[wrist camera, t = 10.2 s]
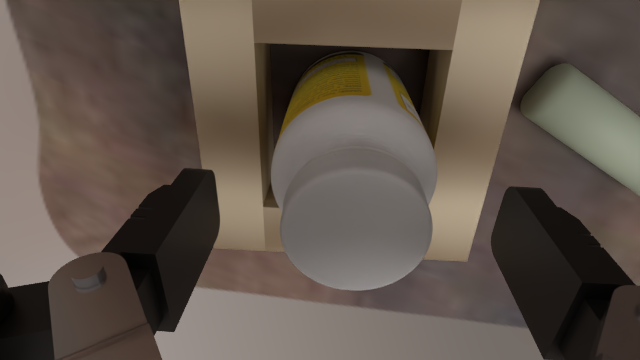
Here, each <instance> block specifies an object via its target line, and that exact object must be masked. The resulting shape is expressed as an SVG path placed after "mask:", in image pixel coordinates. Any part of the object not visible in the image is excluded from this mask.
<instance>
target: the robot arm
mask: <svg viewBox="0 0 640 360" xmlns="http://www.w3.org/2000/svg"><path fill="white" fill-rule="evenodd" d="M219 228H220V212H219V204H218V196H217V188H216V180H215V175H214V172H213V171H212V170H208V169H190V168H184V169H183V170H182V171H181V172H180V174H179V175H178V176H177V178H176V179H175V180H174V182H173V183H172V184H171V185H163V186H161V187H160V188H158V189H156V190H155V191H153V192H151V193H150V194H148V195H147V197H146V198H145V199H144V200H143V201H142V203H141V204H140V205H139V208H138V209H136V210H135V211H134V212H133V214H132V215H131V218H130V219H128V220H127V221H126V222H125V223H124V225H123V226H122V227H121V228H120V229H119V231H118V232H117V233H116V234H115V236H114V237H113V238H112V239H111V240H110V242H109V243H108V244H107V245H106V246H105V248H104V249H103V250H102V251H101V252H99V253H92V254H88V255H84V256H82V257H79V258H77V259H74V260H72V261H70V262H69V263H67V264H65V265H64V266H63V267H61V268H60V269H59V270H58V271H57V272H56V273H55V274H54V275H53V276H52V278H51V279H50V281H47V282H42V283H35V284H29V285H23V286H18V287H11V288H8V286H7V284H6V282H5V280H4V279H3V276H2V275H1V274H0V360H162V358H161V355H160V352H159V349H158V346H157V344H156V341H155V338H154V335H155V333H156V331H167V332H174V331H175V329H176V327H177V324H178V323H179V320H180V318H181V316H182V314H183V312H184V309H185V307H186V305H187V303H188V301H189V298H190V296H191V294H192V292H193V289H194V287H195V285H196V283H197V281H198V279H199V276H200V274H201V272H202V270H203V268H204V266H205V263H206V261H207V259H208V257H209V255H210V252H211V250H212V248H213V246H214V244H215V241H216V239H217V237H218V233H219ZM590 234H591V233H590V232H589V231H588V230H587V228H586V227H585V226H584V225H583V224H582V223H581V221H580V220H579V219H577V218H576V217H574V216H573V215H571V214H570V213H568V212H567V211H565V210H564V209H562V208H561V207H557V206H556V205H555V204H554V203H553V201H552V200H551V199H550V198H549V197H548V195H547V194H546V193H545V192H544V191H543V190H542V189H541V188H530V187H509V188H508V189H507V190H506V192H505V194H504V197H503V200H502V203H501V206H500V210H499V213H498V216H497V219H496V222H495V226H494V229H493V232H492V237H491V247H492V252H493V255H494V257H495V260H496V262H497V264H498V266H499V268H500V270H501V272H502V274H503V276H504V278H505V280H506V282H507V284H508V286H509V289H510V291H511V293H512V295H513V297H514V299H515V301H516V303H517V305H518V307H519V309H520V311H521V313H522V315H523V318H524V320H525V322H526V324H527V326H528V328H529V330H530V332H531V334H532V336H533V338H534V340H535V342H536V344H537V346H538V349H539V351H540V353H541V355H542V357H543V359H546V360H640V286H637V285H635V284H634V283H633V281H632V280H631V279H630V278H629V277H628V276H627V275H626V273H625V272H624V271H623V270H622V269H621V268H620V266H619V265H618V264H617V263H616V262H615V261H614V260H613V258H612V257H611V256H610V255H609V254H608V253H607V251H606V250H605V249H604V248H601V247H600V243H599V242H598V241H597V240H596V239H595V238H594V236H591V235H590Z"/></svg>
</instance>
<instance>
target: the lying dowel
mask: <svg viewBox="0 0 640 360" xmlns="http://www.w3.org/2000/svg"><path fill="white" fill-rule="evenodd" d="M520 111H521V113H522V114H523V115H524V116H525V117H526V118H528V119H529V120H531V121H532V122H534V123H535V124H537V125H538V126H539V127H541V128H542V129H544V130H545V131H547V132H548V133H549V134H551V135H552V136H554V137H555V138H557V139H558V140H560V141H561V142H562V143H564V144H565V145H567V146H568V147H570V148H571V149H573V150H574V151H575V152H577V153H578V154H580V155H581V156H583V157H584V158H585V159H587V160H588V161H590V162H591V163H593V164H594V165H596V166H597V167H598V168H600V169H601V170H603V171H604V172H606V173H607V174H608V175H610V176H611V177H613V178H614V179H616V180H617V181H619V182H620V183H621V184H623V185H624V186H626V187H627V188H629V189H630V190H631V191H633V192H634V193H636V194H637V195H639V196H640V117H639V116H638V115H637V114H636V113H634V112H633V111H632V110H630V109H629V108H628V107H626V106H625V105H624V104H622V103H621V102H620V101H618V100H617V99H616V98H615V97H613V96H612V95H611V94H609V93H608V92H607V91H605V90H604V89H603V88H601V87H600V86H599V85H597V84H596V83H595V82H594V81H592V80H591V79H590V78H588V77H587V76H586V75H584V74H583V73H582V72H580V71H579V70H578V69H577V68H575V67H574V66H573V65H571V64H568V63H563V64H559V65H556V66H554V67H552V68H550V69H548V70H547V71H546V72H545V73H544V74H543V75H542V76H541V77H540V78H539V79H538V80H537V82H536V83H535V84H534V85H533V86H532V87H531V88H530V89H529V90H528V91H527V92H526V94H525V95H524V96H523V98H522V101H521V104H520Z"/></svg>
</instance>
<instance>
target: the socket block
mask: <svg viewBox="0 0 640 360" xmlns="http://www.w3.org/2000/svg"><path fill="white" fill-rule="evenodd" d="M539 2H540V0H179V6H180V13H181V20H182V27H183V34H184V42H185V49H186V56H187V63H188V70H189V77H190V85H191V92H192V99H193V106H194V113H195V121H196V128H197V135H198V142H199V149H200V156H201V164H202V169H208V170H212V171H213V172H214V175H215V180H216V188H217V196H218V204H219V212H220V228H219V233H218V237H217V239H216V241H215V244H214V246H213V248H218V249H238V250H257V251H276V252H285V250H284V248H283V245H282V241H281V235H280V221H281V216H282V211H281V210H280V208H279V206H278V204H277V202H276V200H275V197H274V194H273V190H272V184H271V165H272V159H273V155H274V136H273V108H272V79H271V50H270V43H275V44H301V45H328V46H355V47H382V48H409V49H430V53H429V59H428V65H427V71H426V77H425V84H424V90H423V96H422V102H421V108H420V115H419V118H420V120H421V122H422V125H423V127H424V129H425V131H426V133H427V135H428V137H429V139H430V142H431V144H432V147H433V150H434V153H435V157H436V162H437V183H436V188H435V192H434V194H433V197H432V200H431V202H430V204H429V209H430V212H431V216H432V224H433V232H432V239H431V243H430V246H429V249H428V251H427V253H426V255H425V256H424V257H423V259H429V260H448V261H467V260H468V256H469V253H470V249H471V245H472V242H473V238H474V235H475V231H476V228H477V224H478V220H479V217H480V213H481V210H482V206H483V202H484V199H485V195H486V192H487V188H488V185H489V181H490V177H491V174H492V170H493V167H494V163H495V159H496V156H497V152H498V149H499V145H500V142H501V138H502V134H503V131H504V127H505V124H506V120H507V117H508V113H509V109H510V106H511V102H512V99H513V95H514V91H515V88H516V84H517V81H518V77H519V74H520V70H521V66H522V63H523V59H524V56H525V52H526V48H527V45H528V41H529V38H530V34H531V31H532V27H533V23H534V20H535V16H536V13H537V9H538V5H539Z"/></svg>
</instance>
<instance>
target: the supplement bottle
mask: <svg viewBox="0 0 640 360" xmlns="http://www.w3.org/2000/svg"><path fill="white" fill-rule="evenodd" d="M436 183H437V162H436V157H435V153H434V150H433V147H432V144H431V142H430V139H429V137H428V135H427V133H426V131H425V129H424V127H423V125H422V122H421V120H420V118H419V116H418V114H417V112H416V110H415V108H414V105H413V103H412V101H411V99H410V97H409V95H408V93H407V90H406V88H405V86H404V84H403V83H402V81H401V79H400V77H399V76H398V75H397V73H396V72H395V71H394V70H393V69H392V67H391V66H390V65H388V64H387V63H386V62H385V61H383V60H382V59H380V58H378V57H376V56H374V55H372V54H369V53H365V52H360V51H341V52H336V53H332V54H329V55H327V56H325V57H323V58H321V59H319V60H318V61H316V62H315V63H314V64H312V65H311V66H310V67H309V68H308V69H307V70H306V71H305V72H304V73H303V75H302V76H301V78H300V79H299V81H298V83H297V85H296V87H295V89H294V92H293V95H292V98H291V101H290V103H289V106H288V109H287V112H286V115H285V118H284V122H283V125H282V128H281V131H280V135H279V138H278V141H277V144H276V147H275V150H274V155H273V159H272V165H271V184H272V190H273V194H274V197H275V200H276V202H277V204H278V206H279V208H280V210H281V211H282V216H281V221H280V235H281V241H282V245H283V248H284V250H285V252H286V254H287V256H288V257H289V259H290V260H291V262H292V263H293V264H294V266H295V267H296V268H298V269H299V270H300V271H301V272H302V273H303V274H305V275H306V276H307V277H309V278H311V279H312V280H314V281H316V282H318V283H321V284H323V285H326V286H329V287H332V288H337V289H342V290H369V289H375V288H379V287H383V286H386V285H389V284H391V283H394V282H395V281H397V280H399V279H401V278H403V277H404V276H406V275H407V274H408V273H410V272H411V271H412V270H413V269H414V268H415V267H416V266H417V265H418V264H419V263H420V262H421V260H422V259H423V257H424V256H425V255H426V253H427V251H428V249H429V246H430V243H431V239H432V232H433V224H432V216H431V212H430V209H429V204H430V202H431V200H432V197H433V194H434V192H435V188H436Z"/></svg>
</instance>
